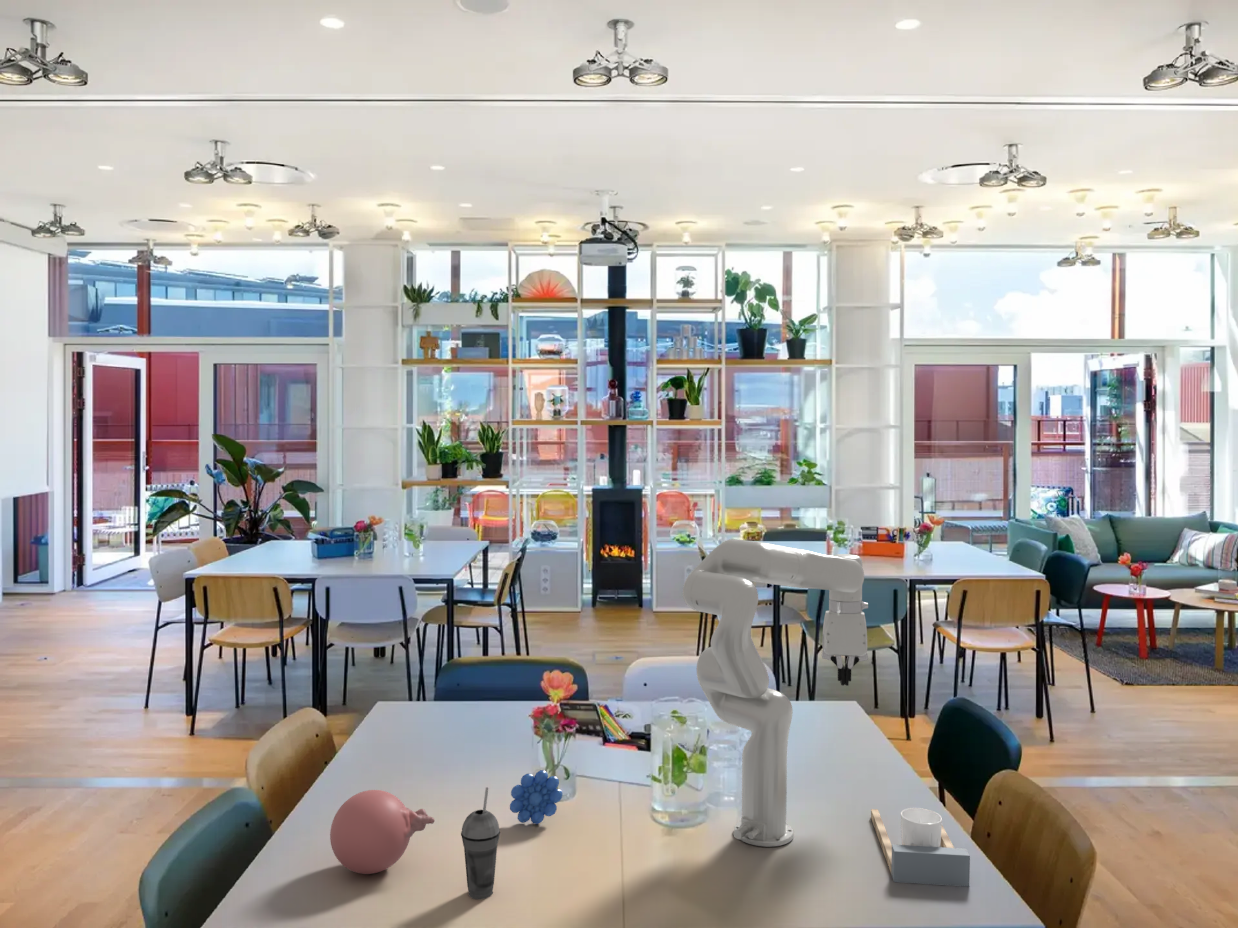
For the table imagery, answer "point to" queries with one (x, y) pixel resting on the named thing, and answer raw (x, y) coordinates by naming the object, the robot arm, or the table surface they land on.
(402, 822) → the balloon
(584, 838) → the table surface
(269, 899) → the table surface
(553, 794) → the blue flower ornament
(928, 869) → the end stop
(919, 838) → the white cup
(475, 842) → the beverage cup
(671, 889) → the table surface
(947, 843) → the guide channel
